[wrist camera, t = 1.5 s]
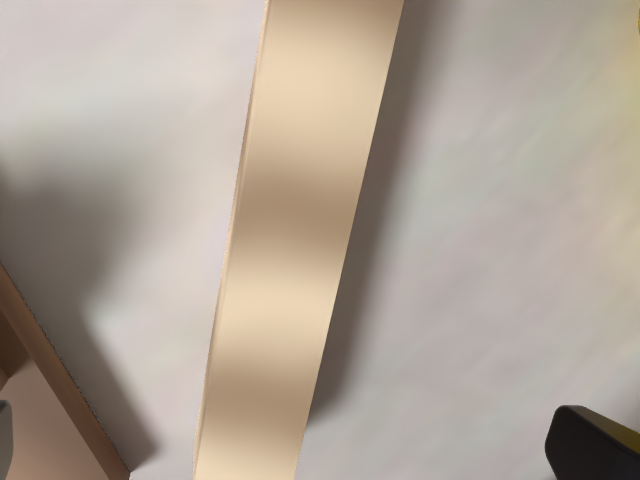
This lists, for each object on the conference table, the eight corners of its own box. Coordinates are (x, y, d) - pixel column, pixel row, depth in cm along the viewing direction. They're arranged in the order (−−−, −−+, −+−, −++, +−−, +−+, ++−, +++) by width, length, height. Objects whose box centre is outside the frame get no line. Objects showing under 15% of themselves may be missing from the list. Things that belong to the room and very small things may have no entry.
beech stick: (294, -186, 16) (315, -248, 12) (404, -149, 17) (450, -200, 13) (194, 434, 22) (191, 500, 19) (278, 438, 23) (288, 502, 20)
